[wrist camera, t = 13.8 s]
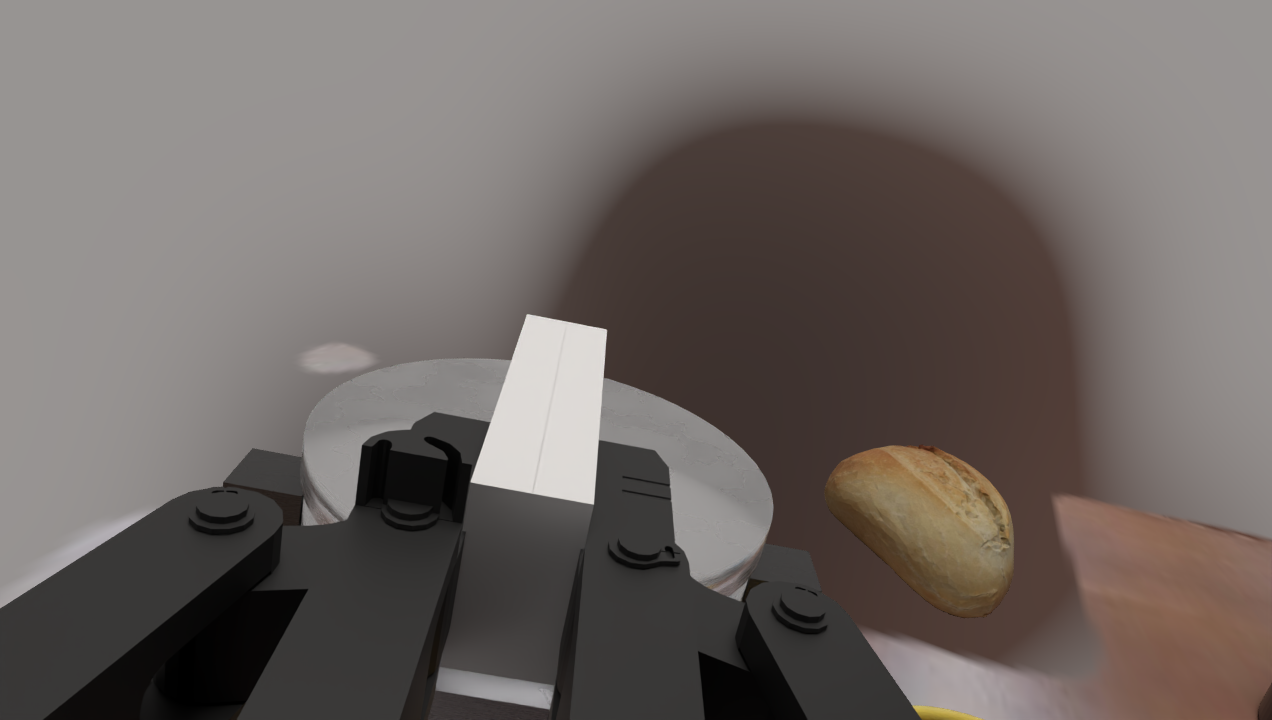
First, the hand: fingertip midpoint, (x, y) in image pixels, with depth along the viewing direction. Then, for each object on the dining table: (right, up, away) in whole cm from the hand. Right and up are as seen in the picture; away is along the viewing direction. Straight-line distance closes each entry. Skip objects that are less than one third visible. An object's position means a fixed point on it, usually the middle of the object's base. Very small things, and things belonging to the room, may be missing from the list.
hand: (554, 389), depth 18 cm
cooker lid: (-2, -5, +21) cm, 21 cm away
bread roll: (+20, -14, +47) cm, 53 cm away
